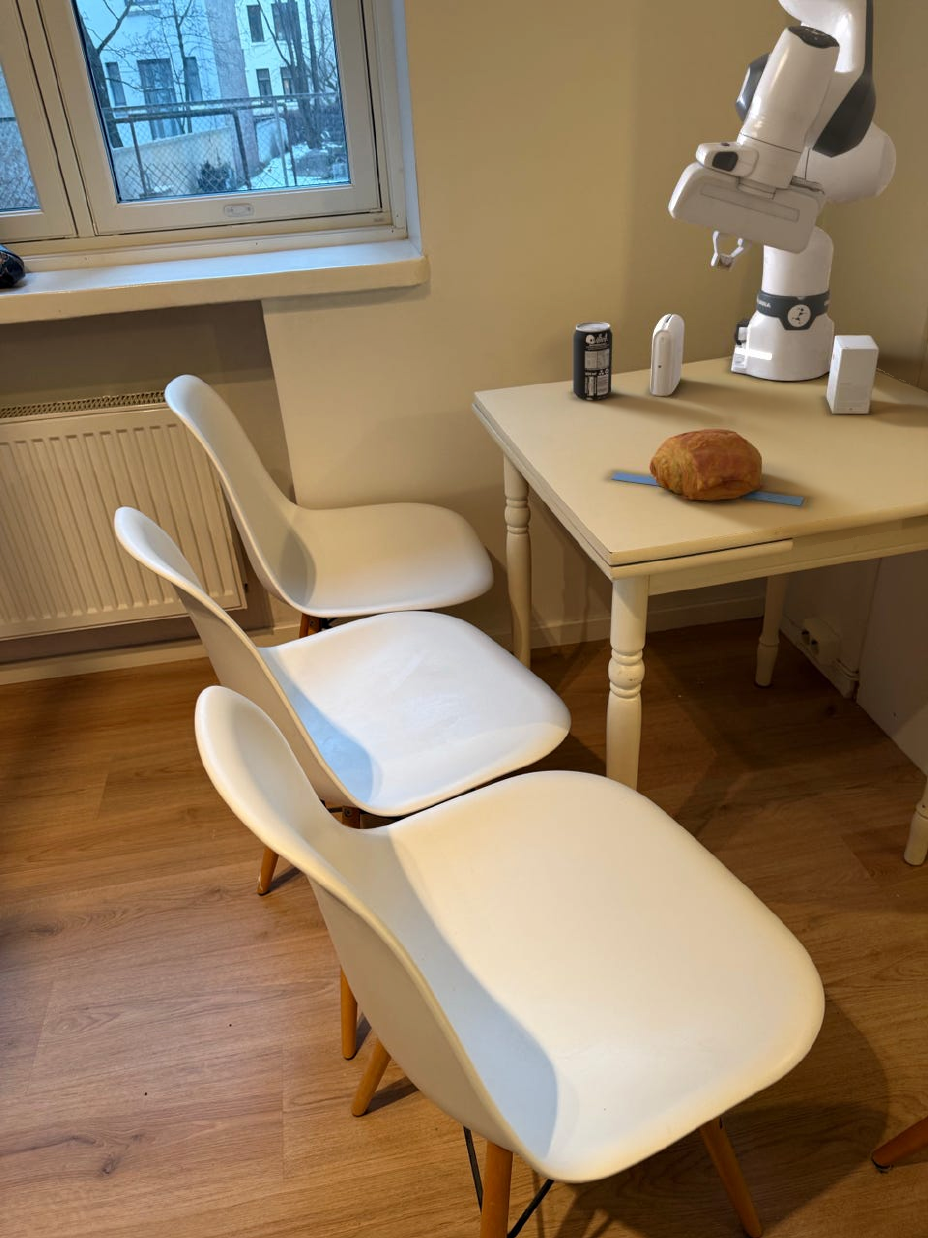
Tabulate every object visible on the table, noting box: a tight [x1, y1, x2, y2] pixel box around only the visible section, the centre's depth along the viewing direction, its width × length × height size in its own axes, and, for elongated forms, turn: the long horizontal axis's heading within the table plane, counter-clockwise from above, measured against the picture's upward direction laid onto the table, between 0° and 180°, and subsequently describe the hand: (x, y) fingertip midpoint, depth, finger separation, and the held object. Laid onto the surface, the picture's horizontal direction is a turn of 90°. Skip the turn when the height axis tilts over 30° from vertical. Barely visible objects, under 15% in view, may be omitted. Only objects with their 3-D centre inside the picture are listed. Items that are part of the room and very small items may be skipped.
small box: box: [825, 334, 880, 415], centre depth 150 cm, size 8×6×10 cm
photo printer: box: [649, 313, 685, 397], centre depth 163 cm, size 10×4×12 cm, turn 158°
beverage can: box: [572, 321, 613, 401], centre depth 162 cm, size 7×7×12 cm
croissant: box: [649, 428, 763, 502], centre depth 129 cm, size 14×16×8 cm
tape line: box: [611, 472, 805, 507], centre depth 129 cm, size 2×26×1 cm, turn 63°
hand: (721, 267), depth 134 cm, fingers closed
